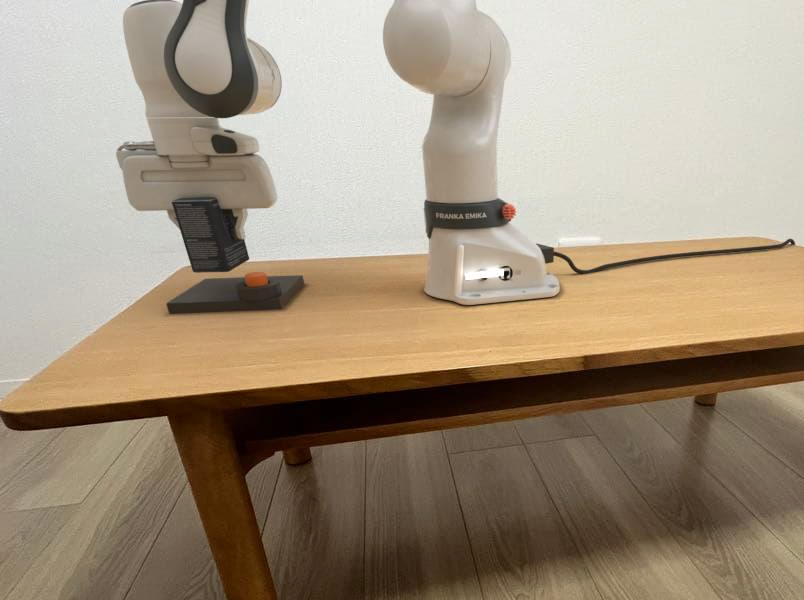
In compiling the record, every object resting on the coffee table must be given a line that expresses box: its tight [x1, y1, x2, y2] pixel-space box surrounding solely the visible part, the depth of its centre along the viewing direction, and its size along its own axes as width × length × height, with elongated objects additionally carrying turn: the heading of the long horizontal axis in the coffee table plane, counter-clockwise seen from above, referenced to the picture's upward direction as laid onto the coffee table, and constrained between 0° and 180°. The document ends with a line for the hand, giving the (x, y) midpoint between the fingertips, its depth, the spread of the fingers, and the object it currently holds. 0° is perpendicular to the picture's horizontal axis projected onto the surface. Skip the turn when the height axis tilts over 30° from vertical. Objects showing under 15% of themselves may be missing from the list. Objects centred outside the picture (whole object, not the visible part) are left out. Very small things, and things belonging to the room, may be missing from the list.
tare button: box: [243, 271, 268, 287], centre depth 81 cm, size 3×3×2 cm
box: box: [171, 197, 250, 274], centre depth 83 cm, size 8×6×11 cm
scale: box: [165, 274, 305, 315], centre depth 85 cm, size 16×14×4 cm
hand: (215, 239), depth 84 cm, fingers closed on box, 6 cm apart
